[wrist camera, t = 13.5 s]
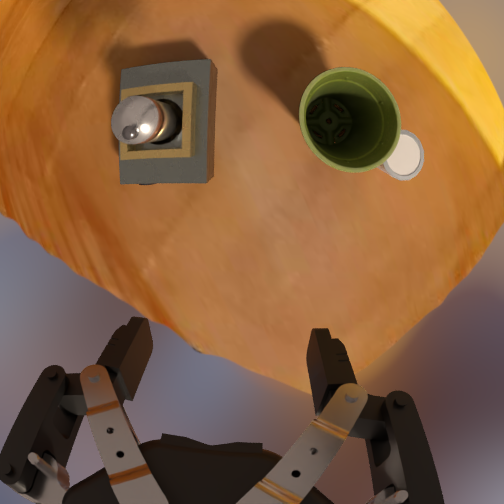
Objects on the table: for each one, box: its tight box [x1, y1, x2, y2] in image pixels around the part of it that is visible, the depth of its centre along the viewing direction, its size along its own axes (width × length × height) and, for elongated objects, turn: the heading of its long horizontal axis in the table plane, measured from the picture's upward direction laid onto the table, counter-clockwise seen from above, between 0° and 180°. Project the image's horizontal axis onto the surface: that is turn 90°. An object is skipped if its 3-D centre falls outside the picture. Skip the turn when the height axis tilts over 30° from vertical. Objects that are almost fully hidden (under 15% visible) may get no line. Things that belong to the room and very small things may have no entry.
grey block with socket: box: [119, 59, 217, 185], centre depth 32 cm, size 16×12×8 cm
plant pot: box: [299, 67, 401, 173], centre depth 31 cm, size 12×12×11 cm
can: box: [111, 96, 178, 144], centre depth 26 cm, size 5×5×9 cm
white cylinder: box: [377, 130, 424, 180], centre depth 34 cm, size 7×7×7 cm
